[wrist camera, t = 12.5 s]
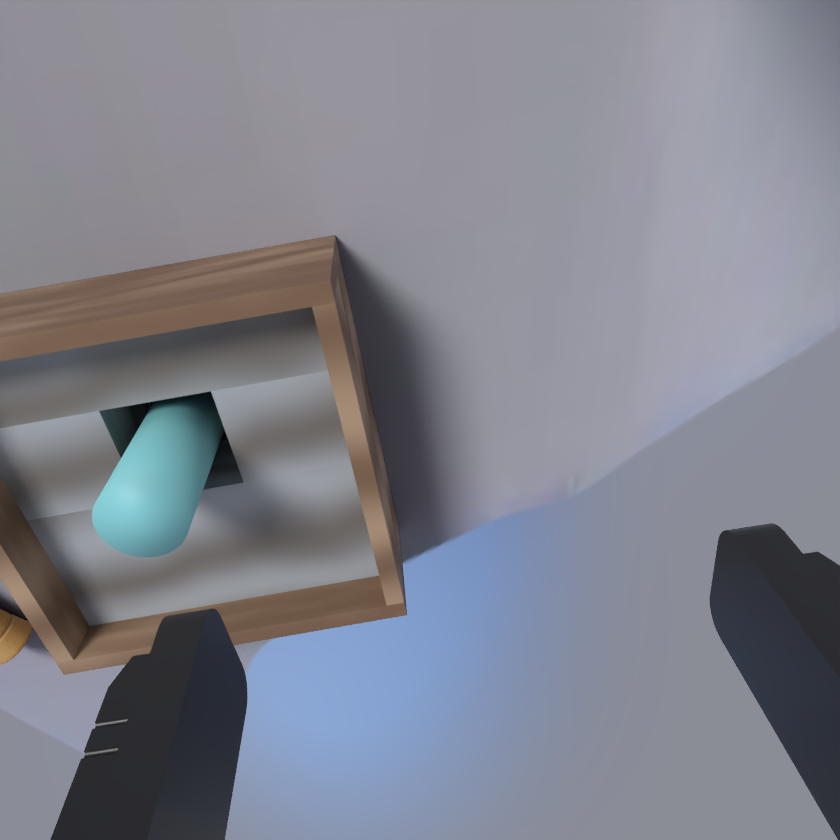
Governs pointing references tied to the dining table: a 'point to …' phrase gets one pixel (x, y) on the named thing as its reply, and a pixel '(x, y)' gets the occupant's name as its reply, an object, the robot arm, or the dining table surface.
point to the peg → (160, 477)
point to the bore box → (232, 466)
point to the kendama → (12, 635)
